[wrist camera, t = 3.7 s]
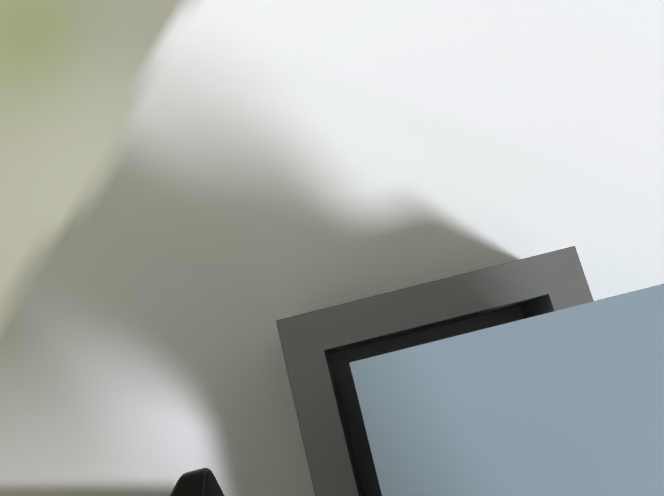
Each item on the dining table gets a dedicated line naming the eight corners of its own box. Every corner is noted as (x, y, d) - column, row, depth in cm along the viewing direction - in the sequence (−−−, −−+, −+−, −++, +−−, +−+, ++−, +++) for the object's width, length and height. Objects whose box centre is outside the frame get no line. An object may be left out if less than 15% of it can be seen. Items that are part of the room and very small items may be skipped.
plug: (554, 489, 15) (1252, 919, 3) (398, 528, 15) (532, 1102, 3) (506, 332, 16) (924, 218, 4) (359, 369, 16) (348, 362, 4)
